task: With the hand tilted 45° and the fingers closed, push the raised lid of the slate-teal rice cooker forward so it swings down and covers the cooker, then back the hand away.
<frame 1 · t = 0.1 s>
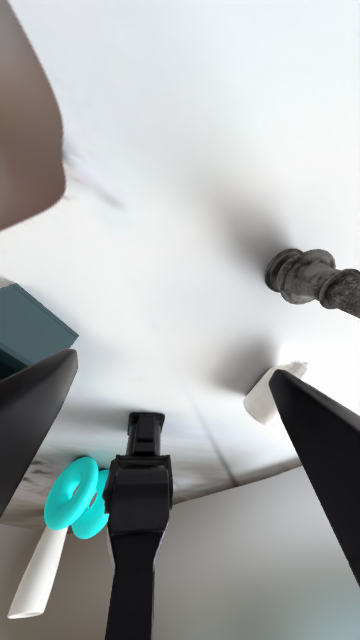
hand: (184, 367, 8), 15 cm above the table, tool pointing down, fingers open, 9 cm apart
donuts: (94, 463, 39), on the table
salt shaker: (285, 271, 21), on the table
rice cooker: (20, 335, 22), on the table
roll: (269, 374, 30), on the table
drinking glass: (63, 509, 49), on the table
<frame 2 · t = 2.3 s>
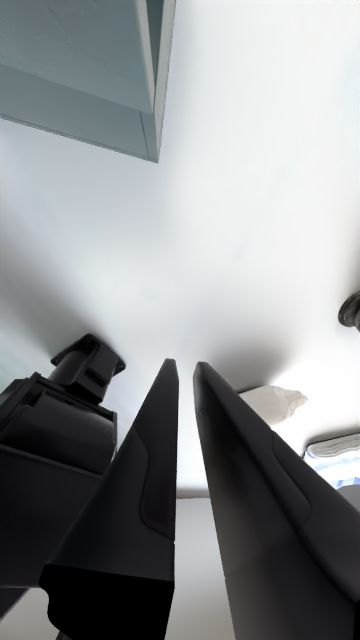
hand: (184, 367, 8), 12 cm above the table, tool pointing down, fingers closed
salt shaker: (357, 308, 22), on the table
rice cooker: (76, 46, 11), on the table
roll: (253, 391, 28), on the table
dish towel: (331, 459, 42), on the table
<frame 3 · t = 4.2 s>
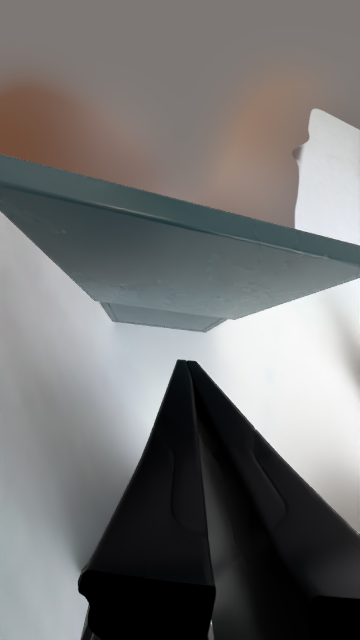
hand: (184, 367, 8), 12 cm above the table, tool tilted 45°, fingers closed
rice cooker: (164, 294, 22), on the table
cooker lid: (182, 284, 9), point 12 cm above the table, hinge at 96.0°
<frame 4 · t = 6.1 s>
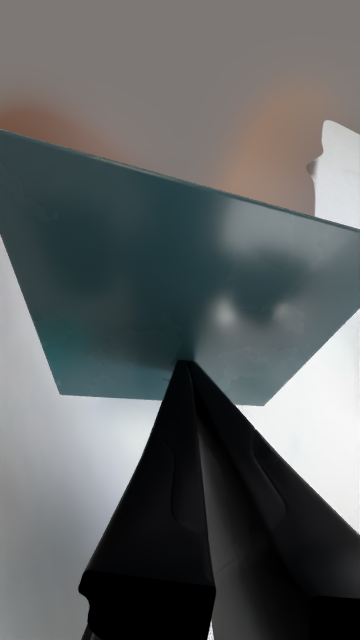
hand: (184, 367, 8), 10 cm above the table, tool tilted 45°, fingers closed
cooker lid: (192, 333, 7), point 11 cm above the table, hinge at 54.0°, touching gripper
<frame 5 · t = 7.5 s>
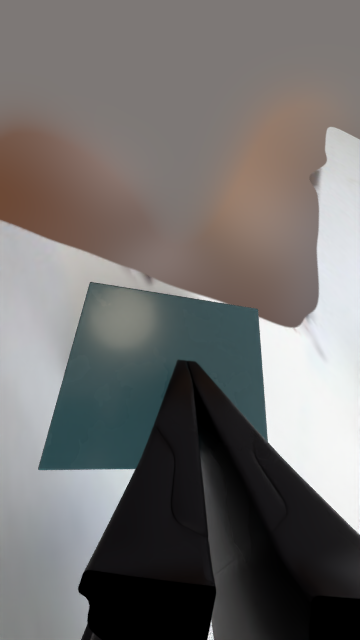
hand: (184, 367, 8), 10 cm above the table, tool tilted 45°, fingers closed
cooker lid: (173, 369, 10), point 7 cm above the table, hinge at -0.3°
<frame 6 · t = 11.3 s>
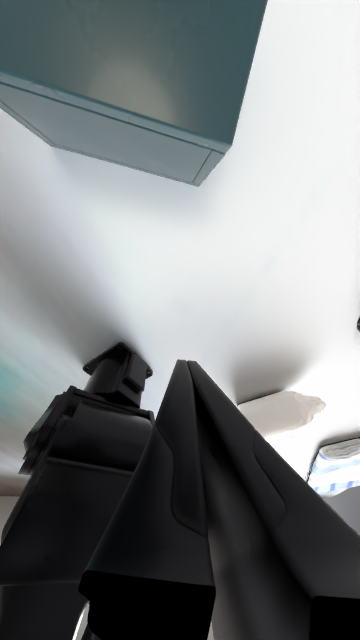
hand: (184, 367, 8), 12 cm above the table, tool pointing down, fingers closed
rice cooker: (134, 84, 11), on the table
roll: (271, 396, 29), on the table
dish towel: (341, 460, 43), on the table
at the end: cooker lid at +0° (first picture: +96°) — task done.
